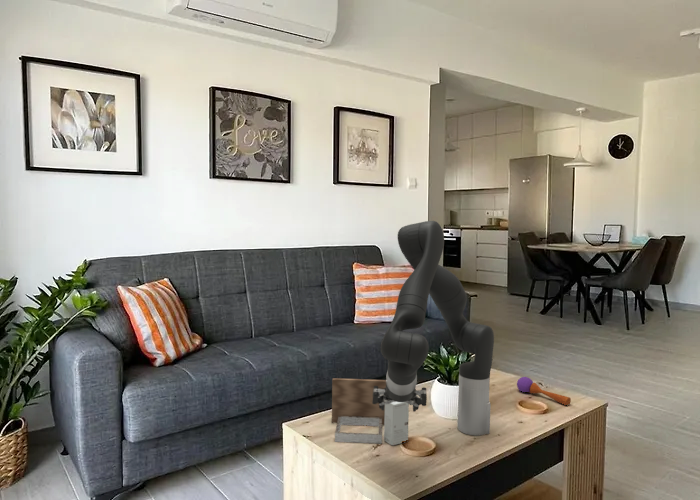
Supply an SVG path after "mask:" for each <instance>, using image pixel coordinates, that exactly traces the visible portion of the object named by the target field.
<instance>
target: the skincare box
mask: <svg viewBox="0 0 700 500" xmlns="http://www.w3.org/2000/svg"><path fill="white" fill-rule="evenodd" d="M409 406H410V405H409V404H408V403H406V402H392V403H390V404H385V418H384V425H383V427H384V428H383V440H384V442H386V443H388V445H390V446H395V445H400V444H402V443H401V442H402V441H406V440H408V441H409V414H410V413H409V410H410V409H409V408H410V407H409Z"/></svg>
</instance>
